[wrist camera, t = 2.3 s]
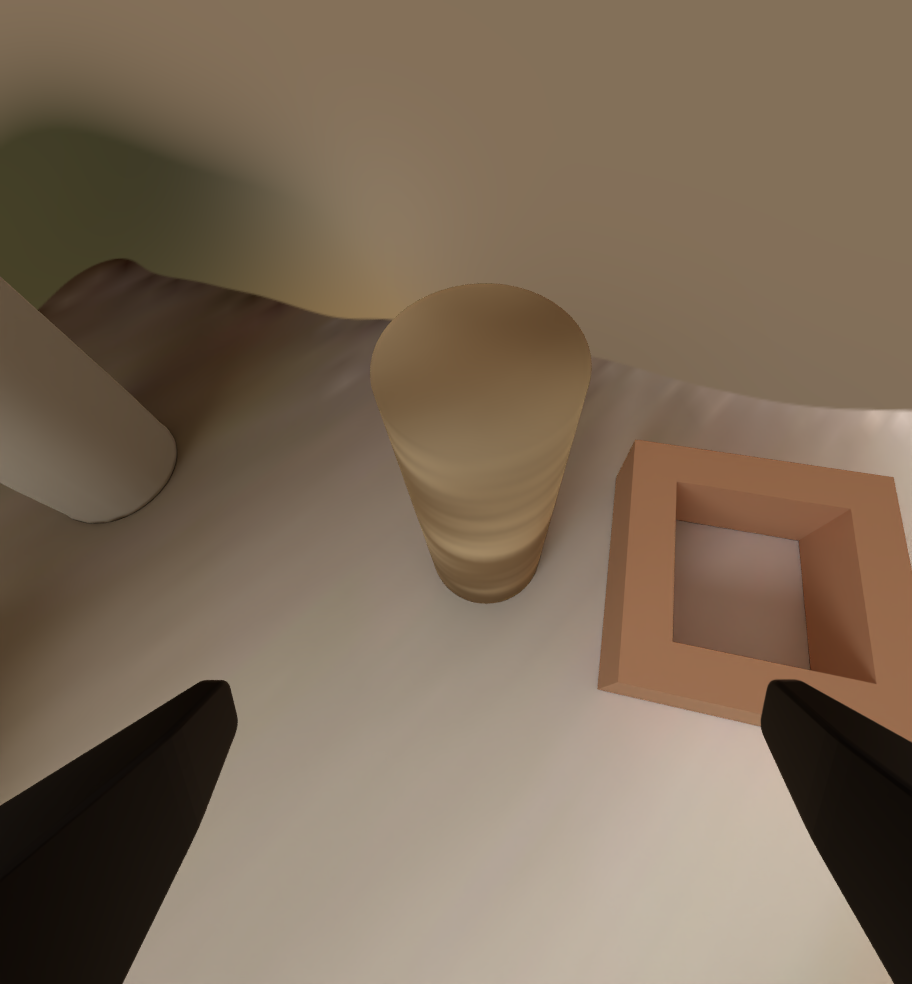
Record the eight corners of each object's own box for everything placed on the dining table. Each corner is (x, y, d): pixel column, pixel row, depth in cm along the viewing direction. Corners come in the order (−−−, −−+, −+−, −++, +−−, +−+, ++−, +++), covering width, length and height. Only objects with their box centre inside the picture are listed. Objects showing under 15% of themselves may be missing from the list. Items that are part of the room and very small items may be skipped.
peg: (561, 559, 22) (640, 371, 10) (475, 626, 21) (455, 500, 9) (494, 484, 24) (496, 255, 12) (412, 541, 23) (330, 350, 11)
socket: (836, 512, 22) (893, 477, 19) (867, 751, 18) (948, 756, 15) (616, 477, 24) (635, 439, 20) (597, 689, 19) (617, 682, 16)
